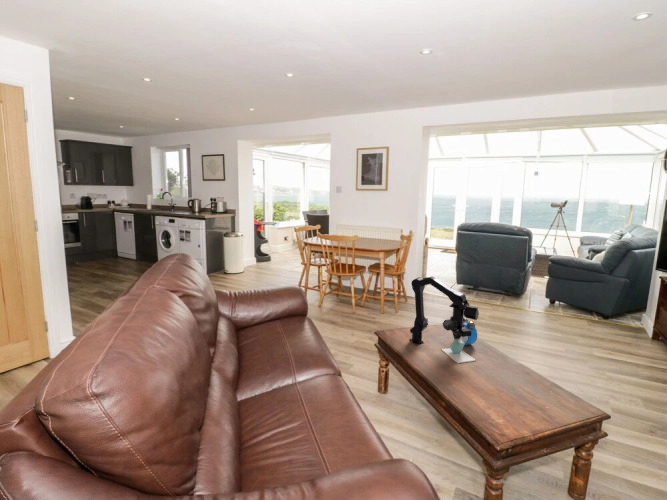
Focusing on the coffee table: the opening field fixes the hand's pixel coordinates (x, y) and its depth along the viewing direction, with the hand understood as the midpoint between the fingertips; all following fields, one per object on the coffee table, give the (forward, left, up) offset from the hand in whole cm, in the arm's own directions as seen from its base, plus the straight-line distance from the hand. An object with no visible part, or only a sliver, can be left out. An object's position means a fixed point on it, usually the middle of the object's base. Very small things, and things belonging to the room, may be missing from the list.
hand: (456, 341), depth 203 cm
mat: (+3, 0, -7) cm, 7 cm away
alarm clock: (-10, +14, -7) cm, 18 cm away
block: (0, 0, -5) cm, 5 cm away
